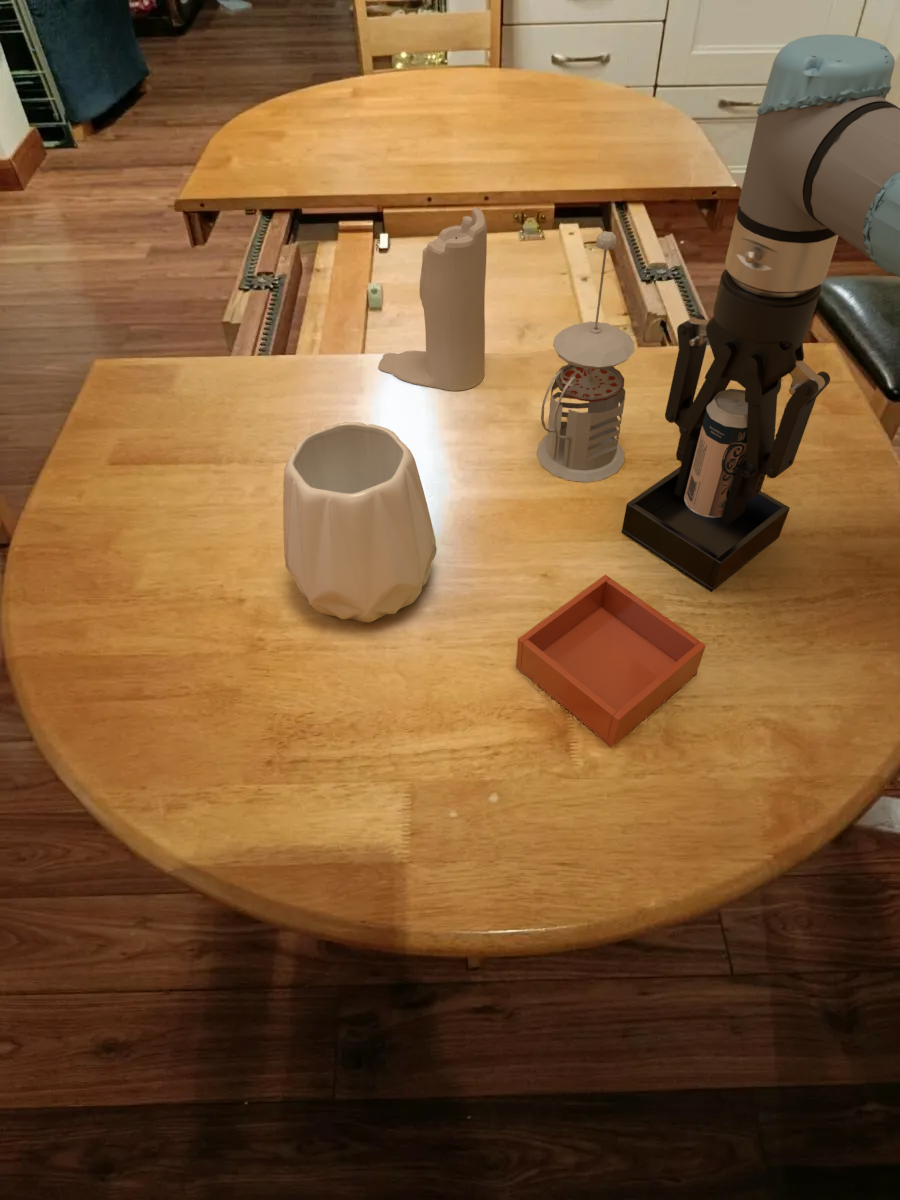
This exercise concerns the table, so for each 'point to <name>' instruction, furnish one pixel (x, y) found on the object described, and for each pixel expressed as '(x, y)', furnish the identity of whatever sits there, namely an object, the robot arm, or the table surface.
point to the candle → (450, 311)
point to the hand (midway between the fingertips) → (708, 502)
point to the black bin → (701, 532)
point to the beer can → (718, 453)
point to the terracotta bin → (609, 658)
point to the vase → (356, 522)
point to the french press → (587, 397)
